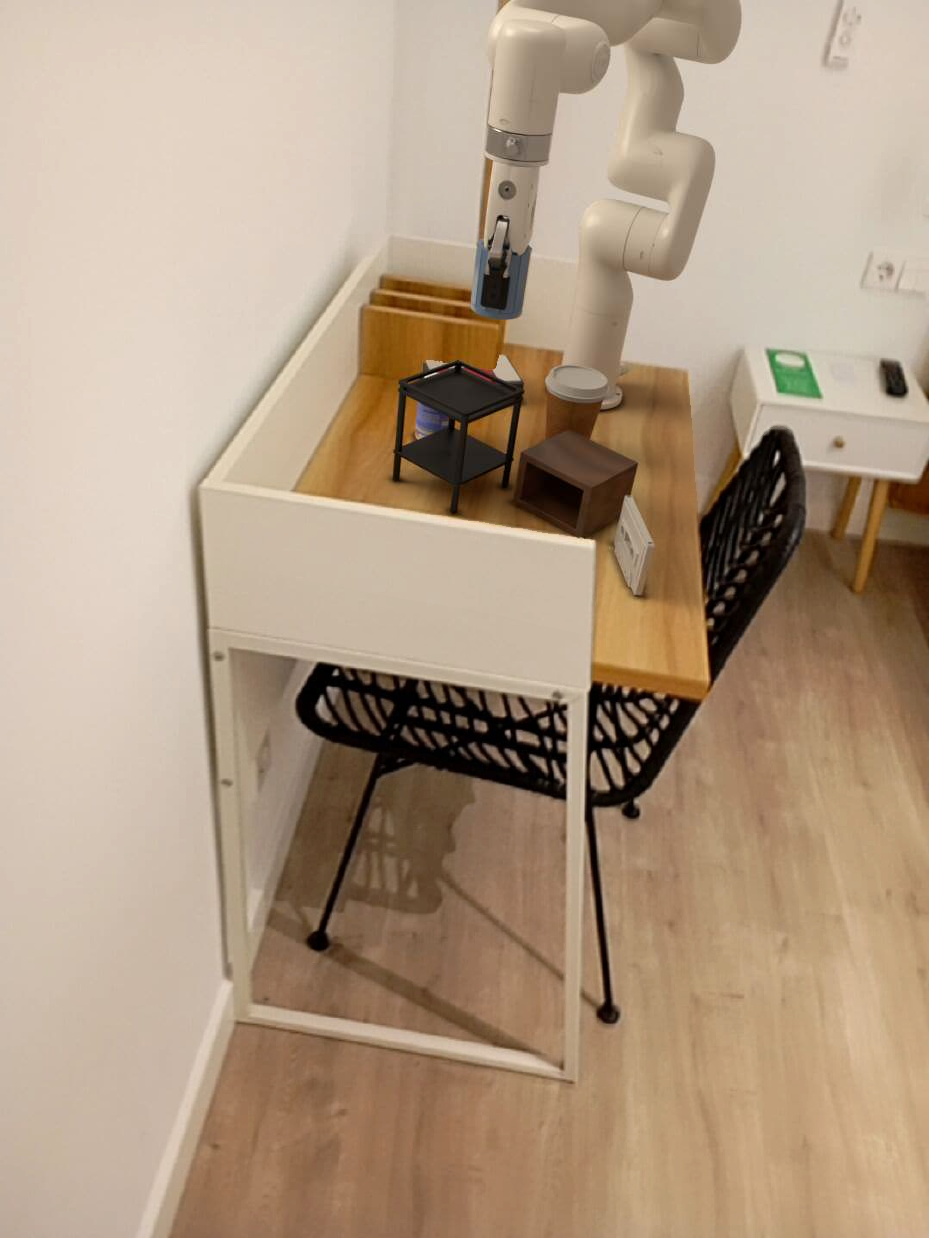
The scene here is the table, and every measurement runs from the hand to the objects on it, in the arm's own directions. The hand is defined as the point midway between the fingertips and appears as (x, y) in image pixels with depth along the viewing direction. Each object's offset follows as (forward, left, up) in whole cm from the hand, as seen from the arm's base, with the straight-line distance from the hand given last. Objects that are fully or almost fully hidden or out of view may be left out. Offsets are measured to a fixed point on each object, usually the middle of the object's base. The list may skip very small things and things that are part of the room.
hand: (498, 296), depth 127 cm
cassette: (0, +26, -28) cm, 38 cm away
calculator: (-24, -22, -28) cm, 43 cm away
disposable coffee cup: (-20, +1, -28) cm, 35 cm away
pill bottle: (-6, -14, -28) cm, 32 cm away
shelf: (-7, +12, -28) cm, 31 cm away
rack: (+2, -3, -28) cm, 28 cm away
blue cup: (0, 0, -2) cm, 2 cm away
